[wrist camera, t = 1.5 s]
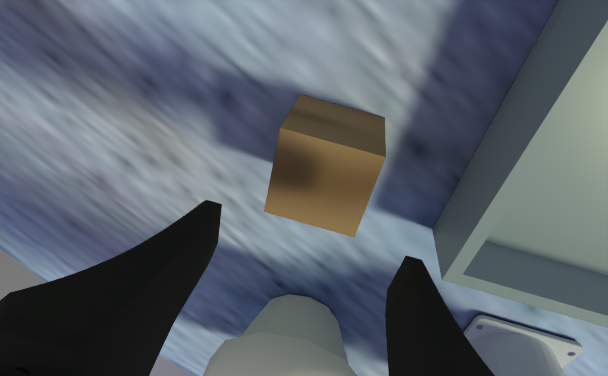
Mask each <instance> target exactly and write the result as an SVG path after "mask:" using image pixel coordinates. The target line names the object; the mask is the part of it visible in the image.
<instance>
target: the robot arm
mask: <svg viewBox="0 0 608 376" xmlns="http://www.w3.org/2000/svg"><path fill="white" fill-rule="evenodd" d="M221 207H222V204H219V203H216V202H212V201H208V200H205V201H203V202H202V203H201V204H199V205H198V206H197V207H195V208H194V209H193V210H191V211H190V212H189V213H187V214H186V215H185V216H183V217H182V218H180V219H179V220H177V221H176V222H174V223H173V224H172V225H170V226H169V227H167V228H166V229H164V230H163V231H161V232H159V233H158V234H156V235H154V236H153V237H151V238H149V239H148V240H146V241H144V242H143V243H141V244H139V245H137V246H135V247H134V248H132V249H130V250H128V251H126V252H124V253H122V254H120V255H118V256H116V257H114V258H111V259H109V260H107V261H105V262H102V263H100V264H97V265H95V266H93V267H90V268H88V269H85V270H83V271H80V272H77V273H74V274H72V275H69V276H66V277H63V278H60V279H57V280H54V281H50V282H47V283H44V284H40V285H37V286H33V287H29V288H26V289H23V290H19V291H15V292H11V293H9V294H8V295H6V296H5V297H4V298H3V299H2V300H0V376H149V375H150V372H151V370H152V368H153V366H154V363H155V361H156V359H157V357H158V355H159V353H160V350H161V348H162V346H163V344H164V342H165V340H166V338H167V336H168V334H169V332H170V329H171V327H172V325H173V323H174V321H175V320H176V318H177V316H178V314H179V312H180V311H181V309H182V307H183V306H184V304H185V302H186V301H187V299H188V298H189V296H190V294H191V293H192V291H193V289H194V288H195V286H196V284H197V283H198V281H199V279H200V278H201V276H202V274H203V273H204V271H205V269H206V268H207V266H208V264H209V262H210V259H211V257H212V255H213V253H214V250H215V248H216V246H217V243H218V236H219V226H220V217H221ZM385 317H386V336H387V352H388V368H389V376H565V375H564V372H563V370H562V369H563V368H564V367H565V366H566V365H567V364H569V363H570V362H571V361H572V360H573V359H574V358H576V357H577V356H578V355H579V354H580V353H581V352H582V351H583V347H582V345H581V344H580V343H578V342H575V341H571V340H568V339H565V338H561V337H558V336H554V335H551V334H547V333H544V332H540V331H537V330H534V329H530V328H527V327H523V326H520V325H516V324H513V323H509V322H506V321H503V320H499V319H496V318H492V317H489V316H485V315H479V316H477V317H475V319H474V320H473V321H472V322H471V324H470V325H469V326H468V327H467V329H466V330H465V331H464V333H463V332H462V330H461V329H460V327H459V326H458V324H457V323H456V321H455V319H454V318H453V316H452V314H451V313H450V311H449V309H448V308H447V306H446V304H445V302H444V301H443V299H442V297H441V295H440V293H439V292H438V290H437V288H436V286H435V284H434V282H433V280H432V278H431V277H430V275H429V273H428V271H427V269H426V267H425V265H424V263H423V261H422V260H420V259H417V258H413V257H409V256H405V258H404V260H403V262H402V264H401V266H400V268H399V269H398V271H397V273H396V275H395V277H394V279H393V281H392V282H391V284H390V286H389V288H388V290H387V299H386V315H385Z"/></svg>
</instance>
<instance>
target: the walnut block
mask: <svg viewBox="0 0 608 376" xmlns="http://www.w3.org/2000/svg"><path fill="white" fill-rule="evenodd" d="M385 158H386V147H385V118H384V117H381V116H377V115H374V114H370V113H366V112H363V111H359V110H355V109H352V108H348V107H344V106H341V105H337V104H333V103H330V102H326V101H322V100H319V99H315V98H311V97H308V96H304V95H299V97H298V99H297V100H296V102H295V104H294V105H293V107H292V109H291V110H290V112H289V114H288V115H287V117H286V119H285V120H284V122H283V124H282V125H281V127H280V131H279V136H278V141H277V147H276V152H275V157H274V162H273V168H272V173H271V178H270V183H269V189H268V194H267V199H266V204H265V210H264V212H267V213H271V214H274V215H278V216H281V217H285V218H288V219H292V220H295V221H299V222H302V223H306V224H309V225H313V226H316V227H320V228H323V229H327V230H330V231H334V232H337V233H341V234H345V235H348V236H352V237H355V234H356V232H357V229H358V226H359V224H360V221H361V219H362V216H363V214H364V211H365V209H366V206H367V204H368V201H369V198H370V196H371V193H372V191H373V188H374V186H375V183H376V181H377V178H378V176H379V173H380V170H381V168H382V165H383V163H384V160H385Z"/></svg>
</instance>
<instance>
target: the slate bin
mask: <svg viewBox="0 0 608 376" xmlns="http://www.w3.org/2000/svg"><path fill="white" fill-rule="evenodd" d="M432 230H433V235H434V240H435V246H436V251H437V256H438V261H439V267H440V272H441V277H442V280H444V281H448V282H451V283H455V284H458V285H462V286H465V287H468V288H472V289H475V290H479V291H482V292H486V293H489V294H493V295H496V296H500V297H503V298H507V299H510V300H514V301H517V302H521V303H524V304H528V305H531V306H534V307H538V308H541V309H545V310H548V311H552V312H555V313H559V314H562V315H566V316H569V317H573V318H576V319H580V320H583V321H587V322H590V323H593V324H597V325H600V326H604V327H607V328H608V0H559V1H558V3H557V5H556V6H555V8H554V10H553V12H552V14H551V15H550V17H549V19H548V21H547V23H546V24H545V26H544V28H543V30H542V32H541V34H540V35H539V37H538V39H537V41H536V43H535V44H534V46H533V48H532V50H531V52H530V53H529V55H528V57H527V59H526V61H525V63H524V64H523V66H522V68H521V70H520V72H519V73H518V75H517V77H516V79H515V81H514V83H513V84H512V86H511V88H510V90H509V92H508V93H507V95H506V97H505V99H504V101H503V102H502V104H501V106H500V108H499V110H498V112H497V113H496V115H495V117H494V119H493V121H492V122H491V124H490V126H489V128H488V130H487V131H486V133H485V135H484V137H483V139H482V141H481V142H480V144H479V146H478V148H477V150H476V151H475V153H474V155H473V157H472V159H471V161H470V162H469V164H468V166H467V168H466V170H465V171H464V173H463V175H462V177H461V179H460V180H459V182H458V184H457V186H456V188H455V190H454V191H453V193H452V195H451V197H450V199H449V200H448V202H447V204H446V206H445V208H444V209H443V211H442V213H441V215H440V217H439V219H438V220H437V222H436V224H435V226H434V228H433V229H432Z"/></svg>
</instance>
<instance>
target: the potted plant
mask: <svg viewBox="0 0 608 376" xmlns="http://www.w3.org/2000/svg"><path fill="white" fill-rule="evenodd" d="M203 376H357V375H356V374H355V372H354V371H353V370H352V369H351V367H350V366H349V364H348V360H347V356H346V352H345V348H344V344H343V340H342V336H341V333H340V329H339V325H338V321H337V319H336V318H335V316H334V315H333V314H332V312H331V311H330V309H329V308H328V307H327V306H325V305H323V304H321V303H320V302H318V301H316V300H314V299H312V298H310V297H305V296H298V295H291V294H288V295H284V296H280V297H276V298H273V299H271V300H270V301H269V302H268V303H267V305H266V306H265V307H264V308H263V309H262V311H261V312H260V313H259V314H258V315H257V317H256V318H255V319H254V320H253V322H252V323H251V324H250V325H249V326H248V328H247V329H246V330H245V331H244V333H243V334H242V335H241V336H240V337H237V338H232V339H228V340H225V341H224V342H223V344H222V345H221V346H220V347H219V349H218V350H217V351H216V352H215V354H214V355H213V356H212V357H211V358H210V360H209V363H208V365H207V367H206V370H205V372H204V375H203Z"/></svg>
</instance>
